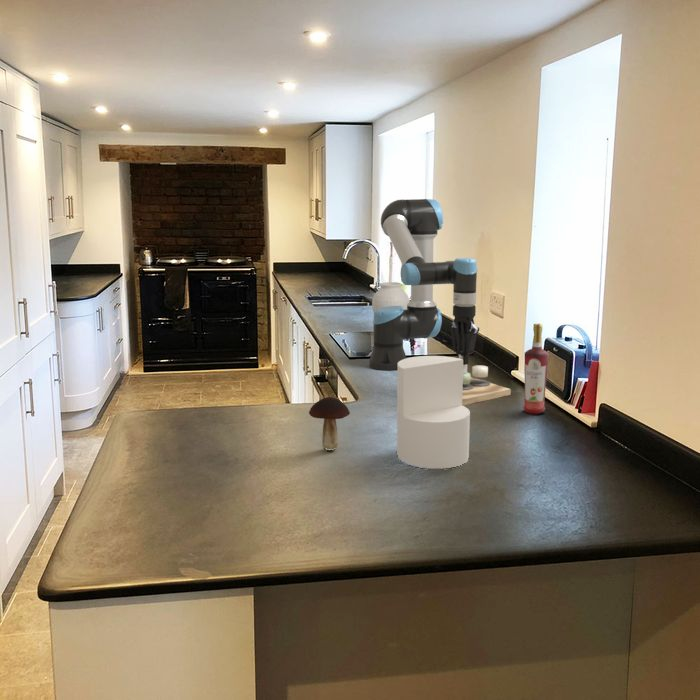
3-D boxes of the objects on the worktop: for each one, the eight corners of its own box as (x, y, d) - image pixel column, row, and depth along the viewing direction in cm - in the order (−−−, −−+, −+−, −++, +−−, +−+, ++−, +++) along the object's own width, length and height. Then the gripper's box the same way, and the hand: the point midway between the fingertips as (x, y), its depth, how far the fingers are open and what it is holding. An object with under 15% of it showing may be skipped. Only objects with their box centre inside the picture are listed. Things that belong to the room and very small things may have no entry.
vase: (410, 338, 337) (410, 285, 331) (372, 339, 337) (372, 286, 331) (408, 331, 354) (408, 280, 348) (371, 331, 354) (371, 281, 349)
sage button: (451, 381, 247) (451, 373, 246) (463, 379, 250) (463, 371, 249) (461, 385, 242) (461, 376, 242) (473, 382, 245) (473, 374, 245)
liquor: (547, 410, 227) (552, 323, 221) (543, 416, 220) (548, 327, 214) (524, 407, 230) (528, 321, 224) (519, 414, 223) (523, 325, 217)
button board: (414, 391, 250) (414, 384, 249) (466, 380, 262) (466, 374, 262) (456, 406, 231) (457, 399, 231) (510, 394, 244) (510, 387, 244)
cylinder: (385, 450, 194) (385, 360, 188) (445, 440, 201) (447, 353, 196) (418, 474, 177) (419, 376, 172) (482, 462, 184) (485, 368, 179)
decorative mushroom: (355, 446, 197) (355, 393, 194) (342, 460, 187) (341, 404, 184) (318, 441, 201) (317, 390, 197) (303, 455, 190) (301, 401, 187)
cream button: (468, 375, 251) (468, 366, 250) (480, 372, 254) (480, 364, 253) (479, 378, 246) (479, 369, 246) (491, 376, 249) (491, 367, 249)
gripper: (443, 303, 243) (441, 370, 249) (469, 308, 233) (467, 378, 238) (459, 301, 247) (458, 367, 253) (486, 306, 237) (484, 375, 242)
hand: (462, 373), depth 245 cm, fingers closed
